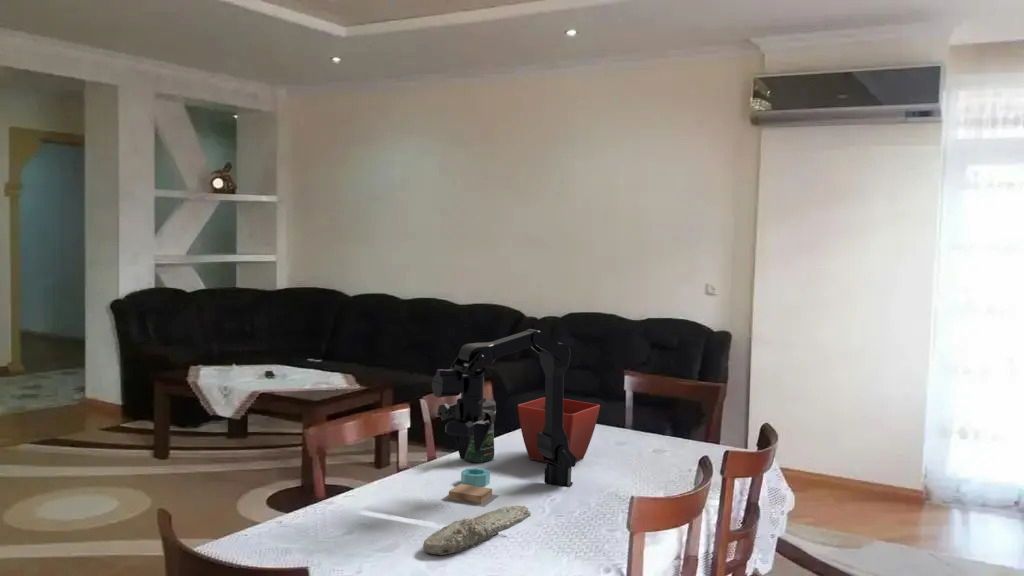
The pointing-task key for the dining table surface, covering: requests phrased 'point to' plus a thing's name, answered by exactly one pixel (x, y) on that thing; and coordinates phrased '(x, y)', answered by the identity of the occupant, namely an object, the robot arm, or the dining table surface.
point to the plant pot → (575, 424)
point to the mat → (472, 503)
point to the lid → (470, 493)
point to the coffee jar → (488, 444)
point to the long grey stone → (474, 530)
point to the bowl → (475, 477)
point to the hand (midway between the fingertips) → (470, 454)
